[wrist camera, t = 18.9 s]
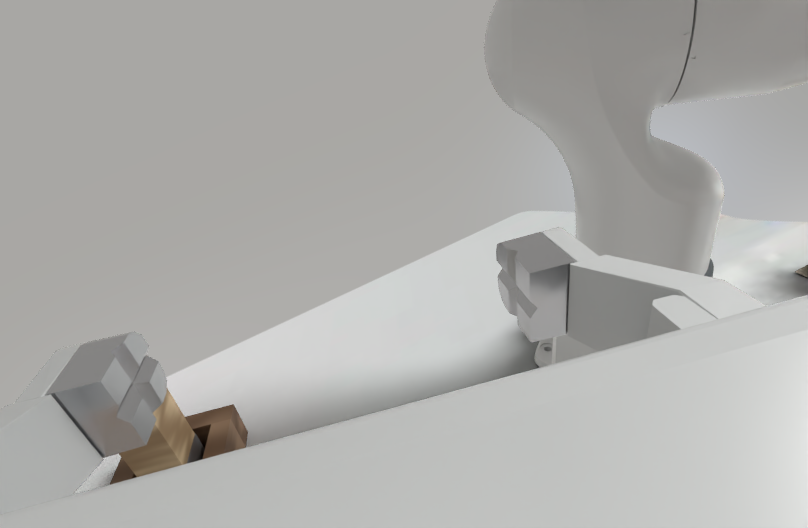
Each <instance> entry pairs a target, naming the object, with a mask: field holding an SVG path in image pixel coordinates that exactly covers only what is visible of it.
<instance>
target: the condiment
mask: <svg viewBox="0 0 808 528" xmlns="http://www.w3.org/2000/svg"><path fill="white" fill-rule="evenodd" d="M795 272H796V273H798V274H801V275H803V276H805V277H808V265H806V266H805V267H803V268H801V269H799V270H797V271H795Z"/></svg>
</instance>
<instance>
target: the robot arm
mask: <svg viewBox="0 0 808 528" xmlns="http://www.w3.org/2000/svg"><path fill="white" fill-rule="evenodd" d="M484 48H485V62H486V67H487V71H488V75H489V78H490V80H491V83H492V85H493V87H494V89H495V90H496V92H497V93H498V95H499V96H500V98H501V99H502V100H503V101H504V102H505V103H506V104H507V105H508V106H509V107H510V108H511V109H512V110H513V111H515V112H517V113H518V114H520V115H522V116H524V117H525V118H527V119H528V120H529V121H531V122H532V123H534V124H535V125H536V126H537V127H538V128H540V129H541V130H542V131H543V132H544V133H545V134H546V135H547V136H548V137H549V138H550V140H551V141H552V142H553V143H554V144H555V146H556V147H557V148H558V150H559V152H560V153H561V155H562V156H563V159H564V161H565V163H566V165H567V167H568V170H569V172H570V175H571V179H572V183H573V188H574V197H575V213H576V238H575V237H574V236H572V235H571V234H570V233H568V232H567V231H566V230H565V229H563V228H560V227H557V228H553V229H550V230H546V231H543V232H539V233H535V234H531V235H528V236H524V237H520V238H516V239H513V240H509V241H505V242H502V243H499V244H497V249H496V257H497V261H498V263H499V264H500V265H501V266H502V270H501V272H500V273H499V275H498V285H499V291H500V295H501V298H502V301H503V303H504V305H505V307H506V309H507V310H508V312H509V313H510V314H513V315H515V316H517V319H518V326H519V327H520V329H521V330H522V331H523V333H524V334H525V335H526V337H527V338H528V340H529V341H530V342H531V343H532V342H536V341H539V344H538V346H537V349H536V352H535V359H534V360H535V363H536V364H537V365H538V366H539V367H540V368H536V369H533V370H529V371H525V372H522V373H518V374H514V375H511V376H507V377H503V378H500V379H496V380H492V381H489V382H485V383H481V384H478V385H474V386H470V387H467V388H463V389H459V390H456V391H452V392H448V393H445V394H441V395H437V396H434V397H430V398H426V399H423V400H419V401H415V402H412V403H408V404H404V405H401V406H397V407H393V408H390V409H386V410H382V411H379V412H375V413H371V414H368V415H364V416H360V417H357V418H353V419H349V420H346V421H342V422H338V423H335V424H331V425H327V426H323V427H320V428H316V429H312V430H309V431H305V432H301V433H298V434H294V435H290V436H287V437H283V438H279V439H276V440H272V441H268V442H265V443H261V444H257V445H254V446H250V447H246V448H243V449H239V450H235V451H232V452H228V453H224V454H221V455H217V456H213V457H210V458H206V459H202V460H199V461H195V462H191V463H188V464H184V465H180V466H177V467H173V468H169V469H165V470H162V471H158V472H154V473H151V474H147V475H143V476H140V477H136V478H132V479H129V480H125V481H121V482H118V483H114V484H110V485H107V486H103V487H99V488H96V489H92V490H88V491H85V492H81V493H77V494H74V492H75V491H76V490H77V489H78V488H79V487H80V486H81V485H82V483H83V482H84V481H85V480H86V479H87V478H88V477H89V476H90V475H91V473H92V472H93V471H94V470H95V469H96V468H97V467H98V466H99V465H100V463H101V462H102V461H103V460H104V459H103V458H104V457H108V456H111V455H115V454H118V453H121V452H125V451H128V450H132V449H135V448H138V447H142V446H145V445H147V442H148V440H149V437H150V435H151V432H152V430H153V427H154V425H155V422H156V420H157V419H156V418H155V416H154V415H153V412H154V411H155V410H156V409H157V408H158V407H159V406H160V405H161V404H162V403H163V401H164V399H165V396H166V393H167V380H166V377H165V374H164V370H163V369H162V367H161V365H160V363H159V362H158V361H156V360H155V359H152V358H151V357H148V356H147V352H148V349H149V345H148V344H147V342H146V341H145V339H144V338H143V336H142V335H141V334H139V333H136V332H130V333H126V334H121V335H117V336H112V337H108V338H103V339H99V340H95V341H91V342H87V343H80V344H76V345H73V346H69V347H65V348H62V349H59V350H57V351H55V353H54V354H53V355H52V356H51V358H50V359H49V360H48V361H47V363H46V364H45V365H44V366H43V368H42V369H41V370H40V372H39V373H38V374H37V375H36V376H35V378H34V379H33V381H32V382H31V383H30V384H29V385H28V387H27V388H26V389H25V390H24V392H23V393H22V394H21V395H20V397H19V398H18V399H17V400H16V402H15V403H14V404H10V405H7V406H4V407H3V408H1V409H0V528H808V295H805V296H801V297H798V298H794V299H790V300H787V301H783V302H779V303H776V304H772V305H768V306H766V305H765V304H763V303H761V302H760V301H758V300H756V299H755V298H753V297H751V296H750V295H748V294H747V293H745V292H743V291H742V290H740V289H738V288H737V287H735V286H733V285H732V284H730V283H728V282H727V281H725V280H722V279H717V278H713V267H714V266H713V262H712V260H711V258H710V257H711V253H712V249H713V244H714V240H715V235H716V231H717V226H718V222H719V217H720V213H721V208H722V204H723V199H724V188H723V183H722V180H721V178H720V175H719V173H718V172H717V170H716V169H715V167H714V166H713V165H712V164H711V163H710V162H708V161H707V160H706V159H704V158H703V157H701V156H699V155H698V154H696V153H694V152H692V151H690V150H687V149H685V148H683V147H680V146H677V145H674V144H672V143H669V142H666V141H663V140H660V139H658V138H656V137H654V136H652V135H651V133H650V119H651V114H652V111H653V110H654V109H655V108H658V107H663V106H664V105H670V104H678V103H688V102H697V101H707V100H716V99H726V98H734V97H745V96H753V95H763V94H768V93H772V92H776V91H780V90H783V89H787V88H791V87H795V86H798V85H802V84H806V83H808V0H497V1H496V3H495V5H494V7H493V10H492V12H491V15H490V18H489V21H488V25H487V30H486V35H485V47H484ZM73 494H74V495H73Z"/></svg>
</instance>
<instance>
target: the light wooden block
mask: <svg viewBox="0 0 808 528" xmlns="http://www.w3.org/2000/svg"><path fill="white" fill-rule="evenodd" d="M153 415H154V416H155V418H156V419H157V420H156V422H155V425H154V427H153V430H152V432H151V435H150V437H149V440H148V442H147V445H145V446H142V447H138V448H135V449H132V450H128V451H125V452H121V453H119V454H120V456H121V457H122V458H123V460H124V461H125V462H126V463H127V465H128V466H129V467H130V469H131V470H132V471H133V473H134V474H135V475H136V476H137V477H140V476H143V475H147V474H151V473H154V472H158V471H162V470H165V469H169V468H173V467H177V466H180V465H184V464H188V463H191V462H195V461H199V460H202V459H203V455H204V451H205V448H204V446H203V445H202V443H201V441H200V440H199V438H198V437H197V435H196V433H194V432H193V430H192V428H191V427H190V425H189V423H188V422H187V420H186V418H185V417H184V415H183V414H182V412H181V410H180V409H179V407H178V405H177V404H176V402H175V400H174V399H173V397H172V396H171V394H170V392H169V391H168V389H167V393H166V396H165V399H164V401H163V403H162V404H161V405H160V406H159V407H158V408H157V409H156V410H155V411H154V412H153Z"/></svg>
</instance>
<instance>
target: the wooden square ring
mask: <svg viewBox="0 0 808 528" xmlns="http://www.w3.org/2000/svg"><path fill="white" fill-rule="evenodd" d="M185 418H186V420H187V422H188V423H189V425H190V427H191V428H192V430H193V432H194V433H196V435H197V437H198V438H199V440H200V441H201V443H202V445H203V446H204V448H205V451H204V455H203V459H206V458H210V457H213V456H217V455H221V454H224V453H228V452H232V451H235V450H239V449H243V448H246V441H247V434H248V431H247V429H246V428H245V426H244V424H243V422H242V420H241V418H240V416H239V414H238V412H237V410H236V408H235V406H234V404H233V405H229V406H225V407H222V408H218V409H214V410H210V411H206V412H203V413H199V414H195V415H191V416H187V417H185ZM136 477H137V476H136V475H135V474H134V473H133V471H132V470H131V469H130V467H129V466H128V465H127V463H126V462H125V461H124V460H123V458H122V457H121V460H120V462H119V464H118V467H117V469H116V471H115V474H114V476H113V478H112V480H111V483H110V484H114V483H118V482H121V481H125V480H129V479H132V478H136Z"/></svg>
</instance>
